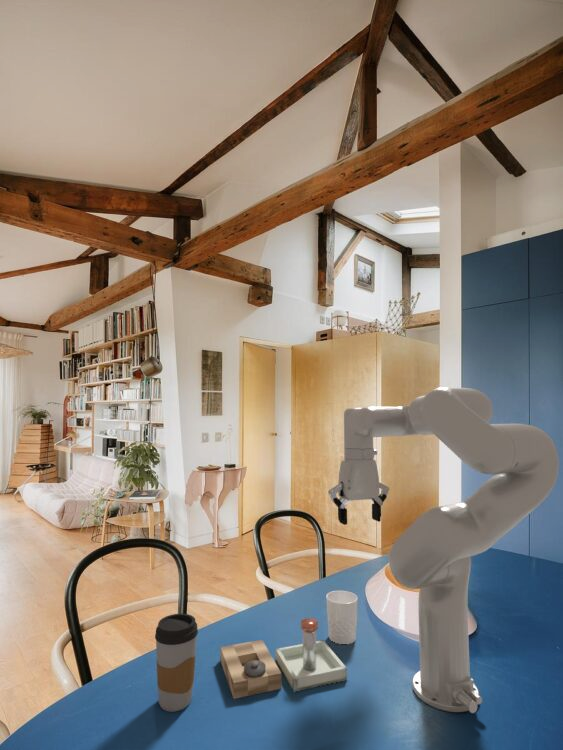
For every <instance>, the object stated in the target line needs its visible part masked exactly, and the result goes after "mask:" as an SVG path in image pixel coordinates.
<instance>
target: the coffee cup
mask: <svg viewBox="0 0 563 750" xmlns="http://www.w3.org/2000/svg"><path fill="white" fill-rule="evenodd" d="M198 633H199V631H198V623H197V622H196V618H195V617H194V616H193V615H192V614H188V613H173V614H169V615H166V616H164V617H162V618H161V619H160V620H158V623H157V626H156V628H155V634H154V638H155V645H156V677H157V679H156V680H157V681H156V683H157V689H158V690H157V692H158V704H159V706H160V708H161V709H162V710H164V711H166V712H178V711H181V710H184V709H185V708H187V707H189V704H190V703H191V701H192V698H193V692H194V691H193V690H194V680H195V670H196V669H195V667H196V651H197V648H196V647H197V637H198Z"/></svg>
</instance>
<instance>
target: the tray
mask: <svg viewBox="0 0 563 750" xmlns="http://www.w3.org/2000/svg"><path fill="white" fill-rule="evenodd" d="M276 661H277V662H276ZM316 661H317V668H316V670H314V671H306V670H304V669H303V643H299V644H295V645H290V646H285V647H279V648H275V662H276V664H277V663H278V664H277V666H278V665H279V666H280V667H279V666H278V667H279V669H280V668H281V669H280V671H281V670H282V671H281V673H282V672H283V673H284V674H283V673H282V674H283V676H284V675H285V676H284V677H286V678H285V679H286V681H287V680H288V681H287V683H288V685H289V684H290V685H289V686H290V688H291V690H292V689H293V690H292V691H294V692H293V693H296V692H295V691H298V692H300V691H299V690H302V691H306V690H305V689H307V690H309V688H311V689H315V688H319V687H318V686H320V687H323V686H322V685H324V686H327V685H326V684H329V685H332V684H331V683H333V684H336V682H338V683H340V682H339V681H342V682H346V681H345V680H347V681H348V670H347V669H348V668H347V667H346V665H345V664H344V663H343V661H341V659H340V658H339V656H338V655H336V653H335V652H334V650H332V648H331V647H330V646H329V645H328V643H326V642H325V640H322V639H321V640H316ZM314 687H315V688H314Z"/></svg>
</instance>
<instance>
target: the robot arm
mask: <svg viewBox="0 0 563 750" xmlns="http://www.w3.org/2000/svg"><path fill="white" fill-rule="evenodd" d="M493 412H494V408H493V403H492V402H491V399H490V398H489V397H488V396H487V395H486V393H484V392H482V391H480V390H478V389H475V388H470V387H437V388H434V389H432V390H431V391H429V392H428V393H426V394H425V395H421V396H418V397H415V398H413V400H411V402H410V404H409V405H401V406H365V407H349V408H345V410H344V412H343V441H344V442H343V444H344V445H343V446H344V449H343V450H344V454H343V455H344V459H341V462H340V464H339V465H340V466H339V473H338V484H337V485H335V486H334V487H331V488H330V489H329V490H328V492H327V494H328V495H329V498H331V501H332V502H333V504H335V506H336V507H337V519H338V521H339V523H340V524H342V525H344V526H345V525H346V526H347V524H348V509H347V508H346V506H347V505H348V504H349V502H351V501H365V500H371V501H372V502H373V503H372V504H371V519H372V520H373V521H376V522H378V523H379V522H381V517H382V506H383V505H384V502H385V501H386V499H387V497H388V494H389V492H390V487H389V486H387V485H386V484H383V483H381V482H380V478H379V471H378V466H377V461H376V460H375V459H374V458H375V456H378V450H377V449H374V438H386V437H387V438H388V437H405V436H407V437H408V436H414V435H416V436H417V435H421V436H430V435H435V436H436V438H437V439H438V440H439V441H440V442H441V443H443V444H444V445H445V446H446V447H447V448H448V449H449V450H450V451H451V452H453V453H454V455H455V456H456V457H458V458H459V459H460V460H461V461H462V462H463V463H464V464H465V465H466V466H468V467H469V468H471V469H472V470H474V471H476V472H477V473H481V474H483V475H492V477H490V478H488V479H487V480H486V481H485V482H484V483H482V484H481V485H480V486H479V487H478V488H477V489H476V490H475V491H474V492H473V493H472V494H470V496H468V497H467V498H465V499H464V500H462V501H461V502H456V503H452V504H446V505H441V506H435V507H432V508H430V509H429V510H426V511H424V512H423V513H422V514H421V515H419V516H418V517H417V518H416V519H415V520H414V521H413V522H412V523H411V525H409V526H408V527H407V528H406V529H405V530H404V531H403V532H402V533H401V535H399V536H398V537H397V538H396V540H395V541H394V542H393V544H392V546H391V548H390V550H389V553H388V554H389V555H388V567H389V571H390V573H391V575H392V577H393V578H394V579H395V581H396V582H397V583H399V585H401V586H403V587H404V588H407V589H411V590H419V592H418V605H417V606H418V609H417V610H418V634H419V635H418V639H419V641H418V642H419V643H418V645H419V671H417V673H415V674H414V675H413V678H412V688H413V691H414V693H415V694H416V696H417V697H418V698H419V699H420V700H422V702H424V703H425V704H427V705H429V706H431V707H433V708H435V709H438V710H441V711H444V712H450V713H464V712H469V713H471V714H475V713H476V712H477V710H478V707H479V706H478V705H481V704H482V703H483V698H482V696H480V692H479V689H478V687H477V686H476V684H475V683H474V679H473V678H472V677H471V675H470V674H471V673H470V672H471V671H470V670H471V669H470V645H469V616H468V615H469V610H468V606H469V605H468V592H469V589H468V588H469V580H470V575H471V570H472V569H471V568H472V559H471V557H473V556H476V555H479V554H482V553H484V552H486V551H488V550H490V548H491V547H493V546H494V544H496V543H497V542H498V541H499V540H500V539H502V538H503V537H504V536H505V535H507V534H508V533H509V532H510V531H511V530H513V528H515V527H516V526H517V524H519V523H520V522H522V520H523V519H525V518H526V517H527V516H528V515H529V514H530V513H532V512H533V511H534V510H535V509H537V508H538V507H539V506H540V505H541V503H543V502H544V501H545V499H547V497H548V496H549V495H550V493H551V491H552V490H553V488H554V486H555V485H556V482H557V479H558V475H559V471H560V470H559V468H560V464H559V463H560V462H559V454H558V450H557V448H556V445H555V443H554V441H553V439H552V438H551V437H550V436H549V435H548V433H546V432H545V431H544V430H543V429H541V428H539V427H537V426H534V425H530V424H524V423H491V424H490V421H491V420H492V416H493V415H494V414H493ZM380 490H381V493H380ZM337 494H338V496H339V498H338V497H337Z"/></svg>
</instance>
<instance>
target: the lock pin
mask: <svg viewBox="0 0 563 750" xmlns="http://www.w3.org/2000/svg"><path fill="white" fill-rule="evenodd" d="M300 628H301V630H302V644H303V669H304V670H306V671H314V670H316V668H317V661H316V641H317V630H318V629H319V622H318V620H317V619H315V618H310V617H309V618H308V617H307V618H303V619H301V620H300Z"/></svg>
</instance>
